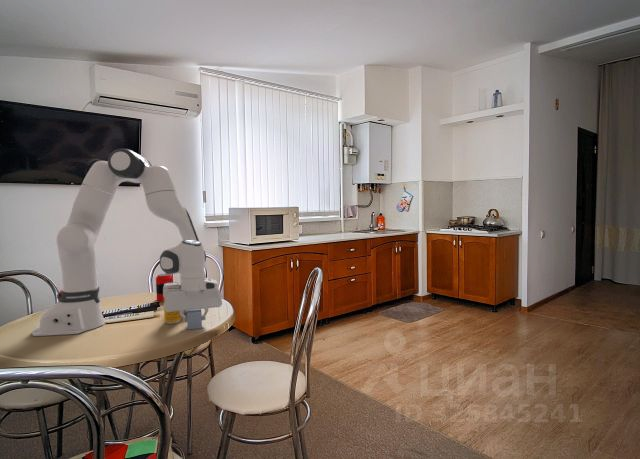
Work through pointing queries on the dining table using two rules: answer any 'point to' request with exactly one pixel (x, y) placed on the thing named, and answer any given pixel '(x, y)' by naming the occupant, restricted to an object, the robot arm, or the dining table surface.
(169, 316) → the beer can
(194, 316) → the slate block
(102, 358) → the dining table surface
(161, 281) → the soda can
